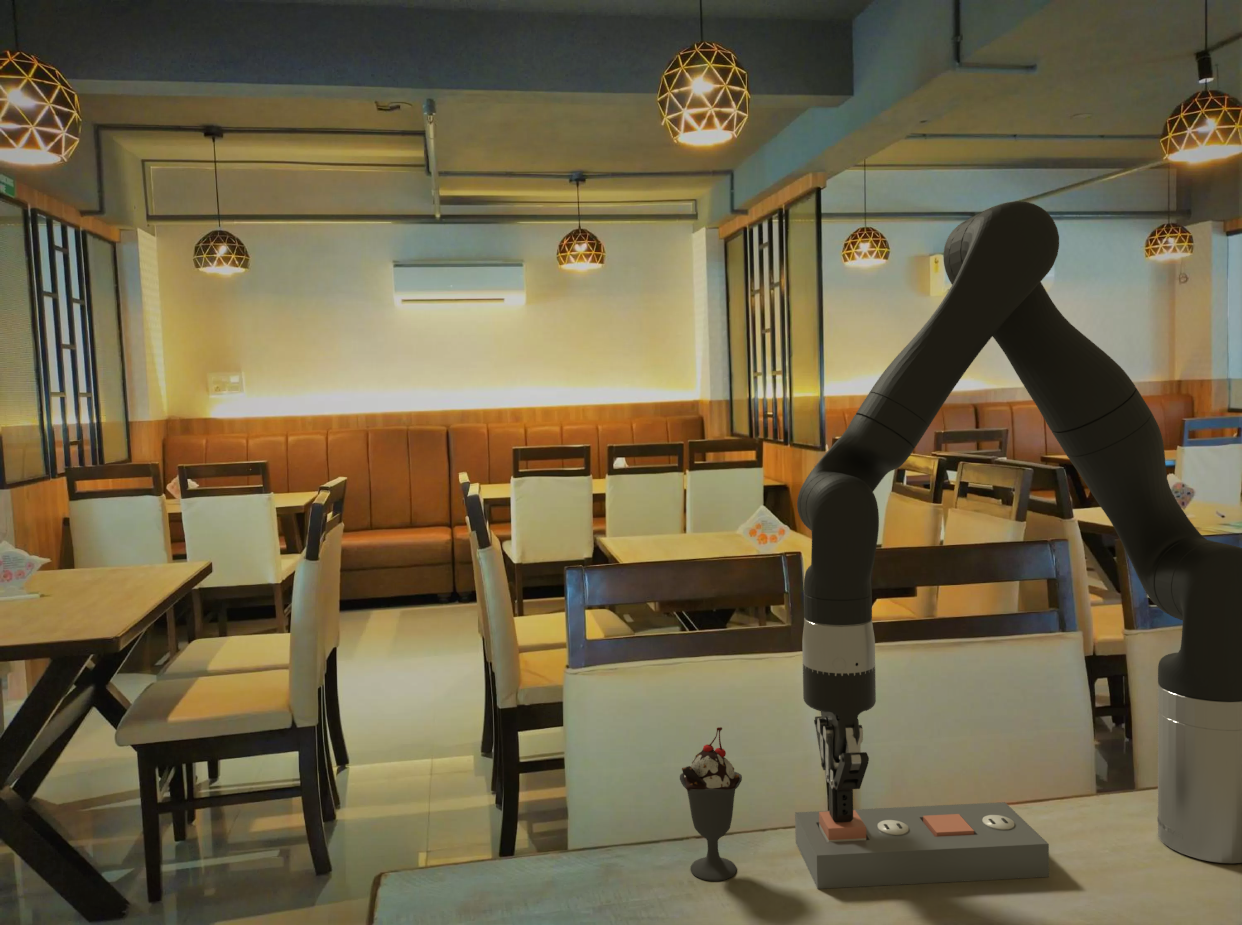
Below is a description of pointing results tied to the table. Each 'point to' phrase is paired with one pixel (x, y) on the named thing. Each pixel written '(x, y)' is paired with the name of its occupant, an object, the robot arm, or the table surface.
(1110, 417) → the robot arm
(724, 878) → the sundae
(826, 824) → the switch
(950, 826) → the switch
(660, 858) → the table surface
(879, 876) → the power strip
